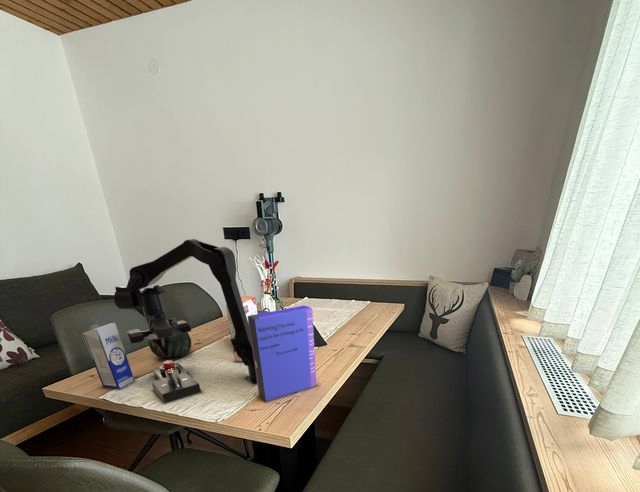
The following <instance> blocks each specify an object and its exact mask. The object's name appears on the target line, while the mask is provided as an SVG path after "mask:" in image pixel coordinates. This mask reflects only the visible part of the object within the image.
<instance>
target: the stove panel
mask: <svg viewBox="0 0 640 492" xmlns="http://www.w3.org/2000/svg"><path fill="white" fill-rule="evenodd" d="M179 377H180V381H181V382H180V383H178V384H175V385H169V384H168V380H167V378H163V379H159V380H158V379H156V380H152V381H150V383H151V387H152V389H153V392H154V393H155V394H156V395H157V396H158V397H159V398H160V400H161V401H162V402H163V403H164V404H168V403H170V402H175V401H177V400H181V399H183V398H184V399H185V398H187V397H190V396H193V395H197V394H200V393H202V390H201V387H200V383H199V382H198V381H197V380H195V379H194V378H193V377H192V376H191V375H190V374H189V375H188V374H187V373H186V372H185V373H181V374H179Z"/></svg>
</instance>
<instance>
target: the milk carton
mask: <svg viewBox="0 0 640 492" xmlns="http://www.w3.org/2000/svg"><path fill="white" fill-rule="evenodd" d="M88 329H89V330H87V331H85V332H83V333H81V335H82V336H83V339H84V342H85V344H86V347H87V350H88V352H89V355H90V357H91V360H92V362H93V365H94V368H95V370H96V373H97V376H98V377H99V380H100V382H101V386H102V388H104V389H105V388H106V389H112V390H121V389H122V388H124V387H126V386H129V385H130V384H132V383H134V382H135V378H134V374H133V372H132V369H131V366H130V363H129V359H128V357H127V354H126V351H125V348H124V345H123V341H122V339H121V336H120V333H119V330H118V327H117V323H116V322H111V323H107V324H104V325H102V326H100V325H99V323H95V324H92V325H91V326H88Z"/></svg>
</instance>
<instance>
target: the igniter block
mask: <svg viewBox="0 0 640 492" xmlns="http://www.w3.org/2000/svg"><path fill="white" fill-rule="evenodd" d="M173 363H174V367H171V368H176V369H178V373H179V374H181V373H185V372H186V373H187V374H188V375H189V376H190V371H189V370H188V369H186V368H185V367H184V366H183V365H181V364H180V363H178V362H173ZM171 368H164V365H163V364H161V365H160V366H159V367H158V368H156V369H153V370H152V373H153V376H154V377H155V378H156V380H159V379H163V378H167V377H166V373H165V371H166V370H168V369H171Z"/></svg>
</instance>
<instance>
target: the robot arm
mask: <svg viewBox="0 0 640 492" xmlns="http://www.w3.org/2000/svg"><path fill="white" fill-rule="evenodd" d="M190 258H194V259H196V260H197V261H199V262H201V263H202V264H205V265H207V266H208V267H209V269H210V272H211V274H212V275H213V277H214V278H215V279H216V280H217V282H218V283H219V285H220V287H221V290H222V295H223V296H224V300H225V303H226V304H227V307H228V310H229V314H230V317H231V320H232V323H233V326H234V330H235V336H234V337H233V338H232V339H231V338H230V342H231V345H233V346H232V348H233V347H234V352H236V353H237V355H238V357H240V358H241V359H242V361H243V362H242V363H243V365H244V366H245V367H247V371H248V375H247V376H245V377H244V378H245V380H247V381H249V382H250V383H252V384H254V385H257V378H256V371H255V364H254V357H253V351H252V344H251V337H250V330H249V324H248V320H247V317H246V313H245V310H244V307H243V303H242V300H241V297H242V296H241V293H240V289H239V286H238V283H237V264H236V257H235V253H234V252H233V250H231V248H229V247H227V246H217V245H214V244H211V243H210V244H209V243H206V242H204V241H201V240H198V239H197V238H191V239H190V238H189V239H185V240H184V241H183V242H182V243H181V244H179V245H177V246H176V247H174V248H172V249H171V250H169V251H167V252H166V253H164V254H162V255H161V256H159V257H157V258H156V259H154V260H152V261H149V262H146V263H142V264H139V265H135V266H132V267H131V268H130V269H129V271H128V272H129V279H128V281H127V284H126V286H124V285H117V286H115V287H114V290H115V292H114V295H113V302H114V305H115V306H116V308H118V309H120V310H140V309H142V312H143V315H144V318H145V322H146V325H147V328H148V329H147V330H141V329H139V328H134V329H130V330H126V331H125V336H126V340H127V341H128V342H129V344H139V343H142V342H143V341H144V340H145V338H146V339H148V341H149V340H150V341H151V342H154V343H155V344H156V345H157V346H158V348H159V349H160V351H161V352H162V354H163V355H164V356H165V357H167V358H168V350H169V343H170V340H171V338H173V337H174V335H173V331H177V330H179V331H180V332H182V333H185V332H188V333H189V332H192V327H191V325H190V323H189V322H187V321H186V320H184V319H182V320H177V318H176V317H173V318H169V319H168V318H167V315H166V313H165V310H164V307H163V303H162V299H161V296H160V295H163V294H164V293H166V290H165V289H164V288H163V287H161V286H160V285H159V284H157V282H159V281H160V280H161V279H162V278H163V276H164V275H165V274H166V273H167V272H168V271H170V270H171V269H173V268H175V267H177V266H179V265H180V264H182V263H184V262H186V261H187V260H189V259H190ZM152 285H154V286H153V287H149V286H152ZM142 289H143V290H142ZM226 304H225V305H226ZM160 338H161V339H162V342H161V339H160ZM162 344H163V345H162ZM234 352H233V353H234Z"/></svg>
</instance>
